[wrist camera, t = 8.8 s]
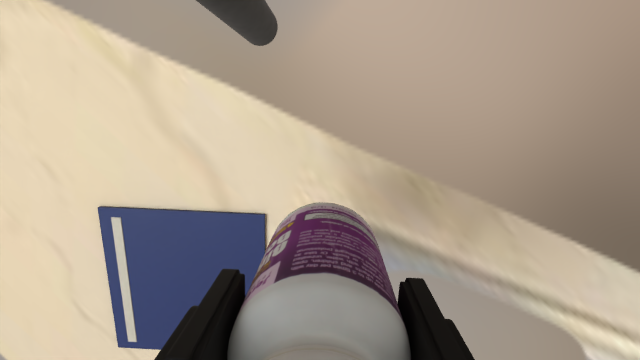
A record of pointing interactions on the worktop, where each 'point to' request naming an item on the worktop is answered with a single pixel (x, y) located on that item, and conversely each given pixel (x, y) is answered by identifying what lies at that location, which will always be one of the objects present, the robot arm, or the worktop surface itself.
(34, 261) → the worktop surface
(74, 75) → the worktop surface
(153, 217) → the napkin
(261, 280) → the pill bottle
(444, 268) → the worktop surface
